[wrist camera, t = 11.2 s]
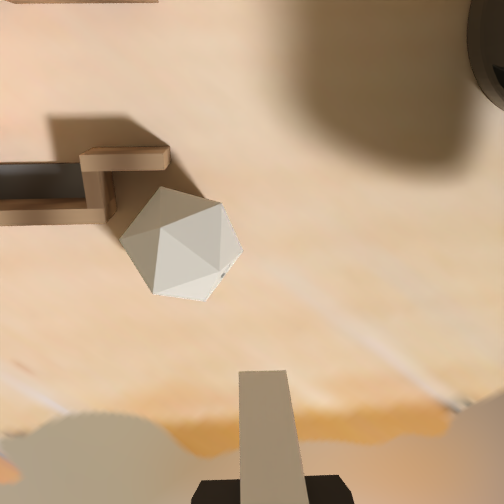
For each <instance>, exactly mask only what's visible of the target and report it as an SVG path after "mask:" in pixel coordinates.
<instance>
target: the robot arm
mask: <svg viewBox="0 0 504 504" xmlns="http://www.w3.org/2000/svg"><path fill="white" fill-rule="evenodd" d="M467 44H468V53H469V59H470V63H471V66H472V70H473V73H474V75H475V77H476V80H477V82H478V83H479V85H480V87H481V89H482V90H483V92H484V93H485V94H486V95H487V97H488V98H489V99H490V100H491V101H492V102H493V103H494V104H495V105H496V106H498V107H499V108H500V109H502V110H503V111H504V0H472V3H471V7H470V12H469V18H468V28H467ZM239 428H240V479H237V480H204V481H201V482H200V484H199V486H198V488H197V490H196V492H195V493H194V495H193V497H192V499H191V504H354V501H353V497H352V494H351V491H350V490H349V489H348V488H347V486H346V485H345V483H344V482H343V481H342V479H341V478H340V477H339V475H320V476H304V472H303V466H302V460H301V454H300V449H299V443H298V437H297V431H296V426H295V420H294V414H293V408H292V403H291V397H290V391H289V385H288V379H287V374H286V370H283V371H243V372H239Z"/></svg>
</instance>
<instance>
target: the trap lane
mask: <svg viewBox="0 0 504 504" xmlns="http://www.w3.org/2000/svg"><path fill="white" fill-rule="evenodd" d="M6 1H9V2H12V3H15V4H30V3H158V0H6ZM79 158H80V163H55V164H0V226H26V225H71V224H106V223H107V222H108V221H109V219H110V218H111V217H112V216H113V215H114V214H115V212H116V211H117V206H116V199H115V191H114V183H113V176H112V171H145V170H165V169H166V168H167V166H168V165H169V164H170V162H171V155H170V146H155V147H95V148H92V149H90V150H88V151H86V152H84V153H82V154H80V155H79Z"/></svg>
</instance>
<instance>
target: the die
mask: <svg viewBox="0 0 504 504" xmlns="http://www.w3.org/2000/svg"><path fill="white" fill-rule="evenodd" d="M119 241H120V242H121V244H122V246H123V247H124V249H125V250H126V252H127V254H128V255H129V257H130V258H131V260H132V262H133V263H134V265H135V266H136V268H137V270H138V271H139V273H140V275H141V276H142V278H143V279H144V281H145V283H146V284H147V286H148V287H149V289H150V291H151V292H152V294H155V295H162V296H169V297H176V298H184V299H191V300H198V301H205V302H206V300H207V299H208V297H209V296H210V295H211V293H212V292H213V291H214V289H215V288H216V287H217V285H218V284H219V283H220V281H221V280H222V279H223V277H224V276H225V275H226V273H227V272H228V271H229V269H230V268H231V267H232V265H233V264H234V263H235V261H236V260H237V259H238V257H239V256H240V255H241V253H242V252H243V249H242V246H241V244H240V242H239V240H238V238H237V235H236V233H235V231H234V229H233V227H232V224H231V222H230V220H229V218H228V215H227V213H226V211H225V209H224V207H223V204H222V203H220V202H216V201H212V200H209V199H205V198H202V197H198V196H194V195H191V194H187V193H184V192H180V191H176V190H173V189H169V188H166V187H162V186H160V187H159V189H158V190H157V191H156V192H155V194H154V195H153V196H152V198H151V199H150V200H149V201H148V203H147V204H146V205H145V207H144V208H143V209H142V210H141V212H140V213H139V214H138V216H137V217H136V218H135V219H134V221H133V222H132V223H131V225H130V226H129V227H128V228H127V230H126V231H125V232H124V234H123V235H122V236H121V237H120V239H119Z"/></svg>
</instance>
